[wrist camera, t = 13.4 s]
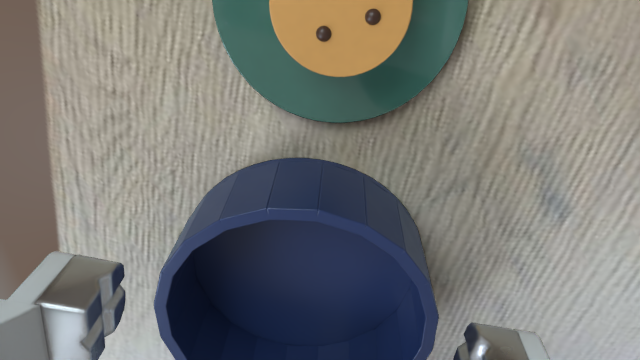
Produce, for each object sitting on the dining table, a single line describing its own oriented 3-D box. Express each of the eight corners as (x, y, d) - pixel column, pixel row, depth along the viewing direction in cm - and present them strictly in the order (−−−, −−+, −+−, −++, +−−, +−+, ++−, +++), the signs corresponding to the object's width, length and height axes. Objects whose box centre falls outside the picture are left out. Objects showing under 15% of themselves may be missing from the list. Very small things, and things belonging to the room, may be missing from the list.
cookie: (360, -108, 20) (362, -112, 17) (429, 15, 22) (440, 27, 19) (250, -20, 22) (238, -12, 19) (324, 85, 24) (322, 104, 21)
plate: (378, -224, 18) (379, -230, 18) (509, 33, 23) (514, 36, 22) (163, -32, 22) (157, -31, 21) (311, 156, 27) (310, 162, 26)
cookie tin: (333, 107, 25) (330, 151, 20) (465, 290, 31) (487, 358, 26) (136, 235, 30) (96, 295, 25) (281, 373, 36) (271, 443, 31)
